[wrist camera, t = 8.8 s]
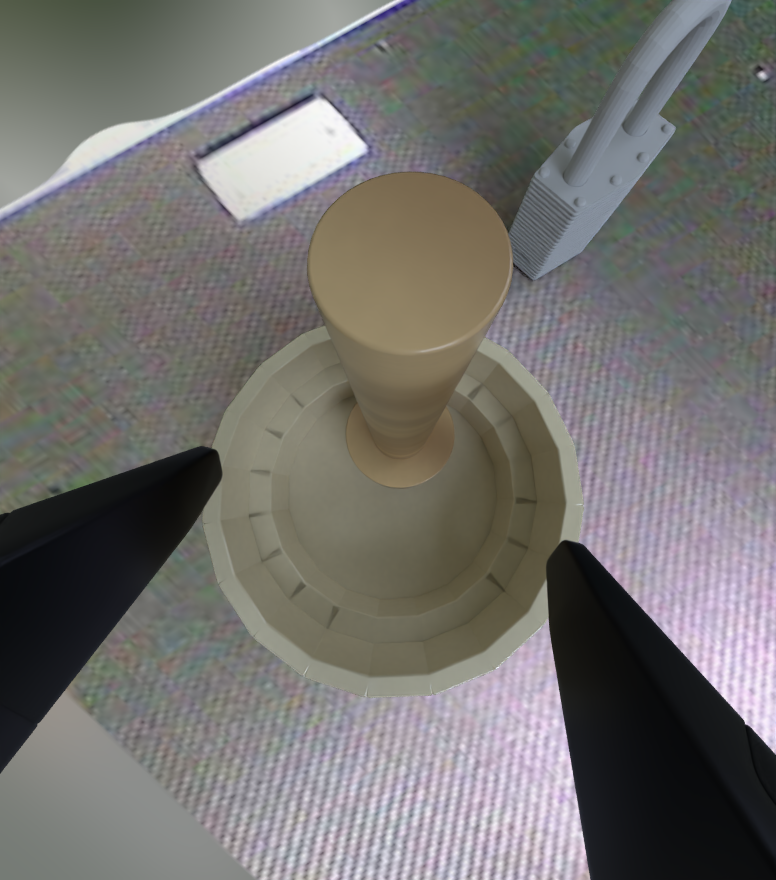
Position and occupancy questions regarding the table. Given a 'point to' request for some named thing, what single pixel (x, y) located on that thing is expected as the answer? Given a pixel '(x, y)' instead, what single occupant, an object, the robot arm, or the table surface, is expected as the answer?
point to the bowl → (389, 526)
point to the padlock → (610, 142)
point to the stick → (407, 311)
